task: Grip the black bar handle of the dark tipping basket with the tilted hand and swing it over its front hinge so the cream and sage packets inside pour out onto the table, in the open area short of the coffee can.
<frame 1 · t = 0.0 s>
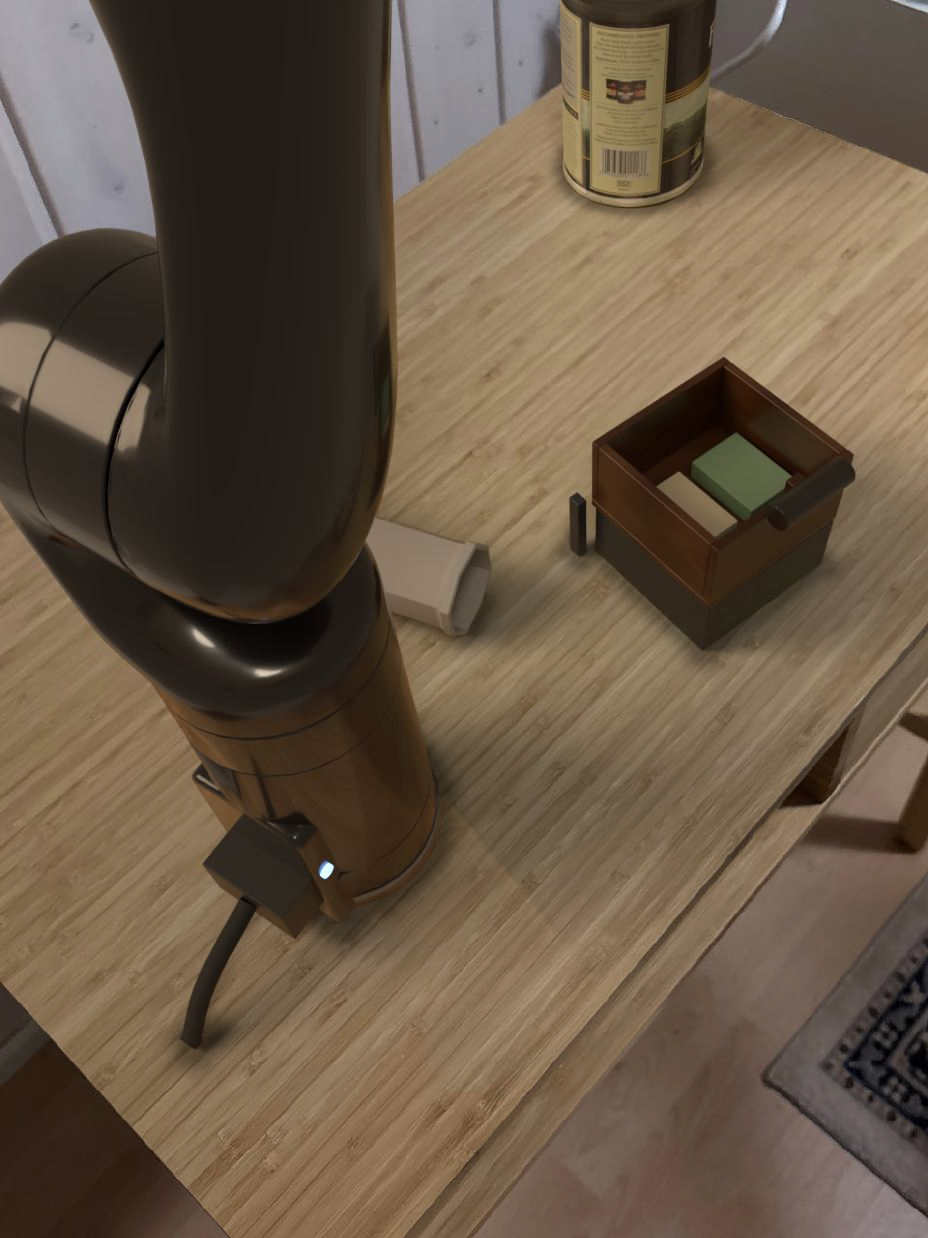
sage packet: (742, 478, 60), point 5 cm above the table, touching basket
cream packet: (684, 518, 59), point 5 cm above the table, touching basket
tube: (280, 555, 67), on the table
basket: (731, 476, 57), point 8 cm above the table, hinge at -0.1°, touching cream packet, sage packet
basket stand: (705, 555, 64), on the table
coffee can: (631, 165, 84), on the table
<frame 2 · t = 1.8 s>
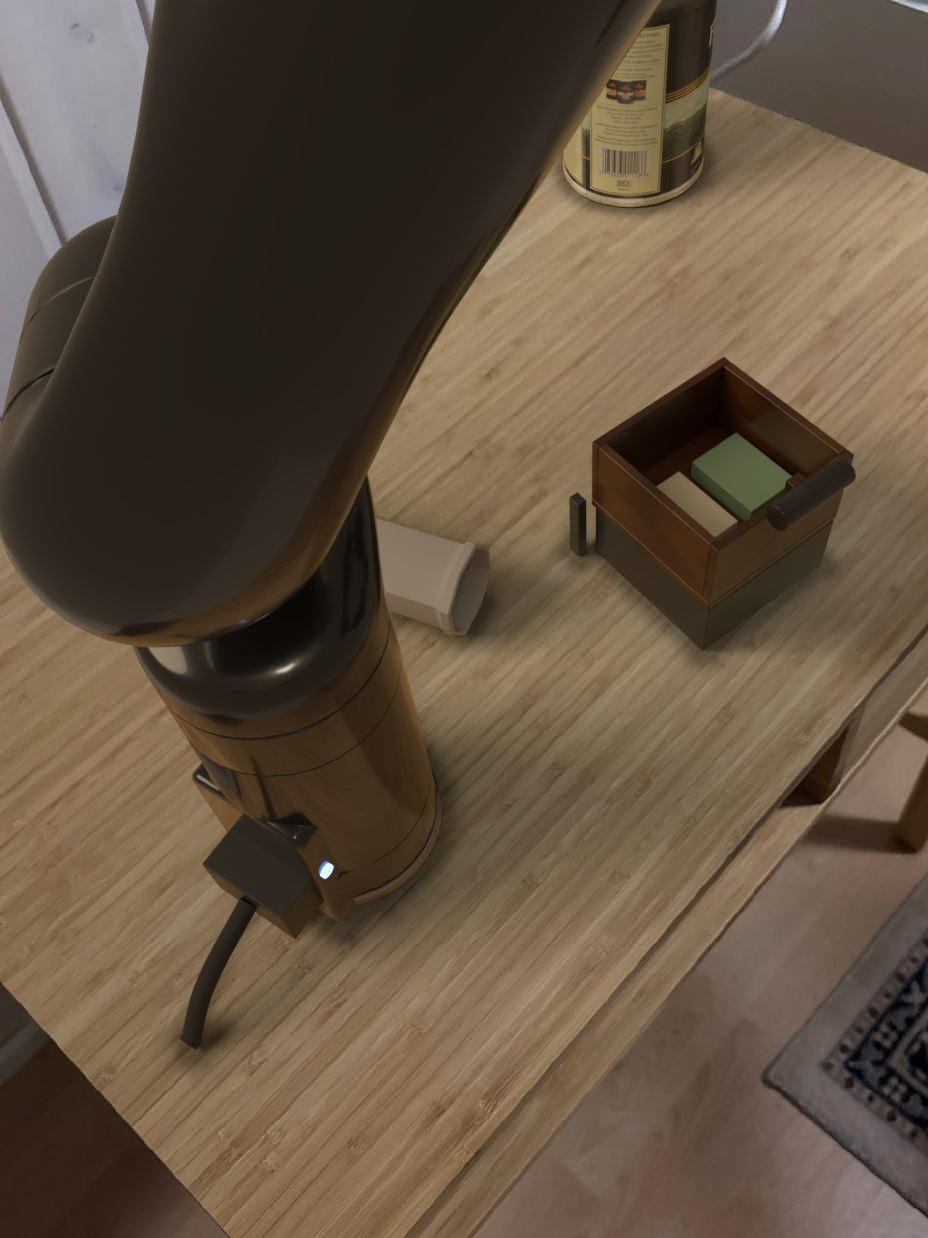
nothing on the table moved.
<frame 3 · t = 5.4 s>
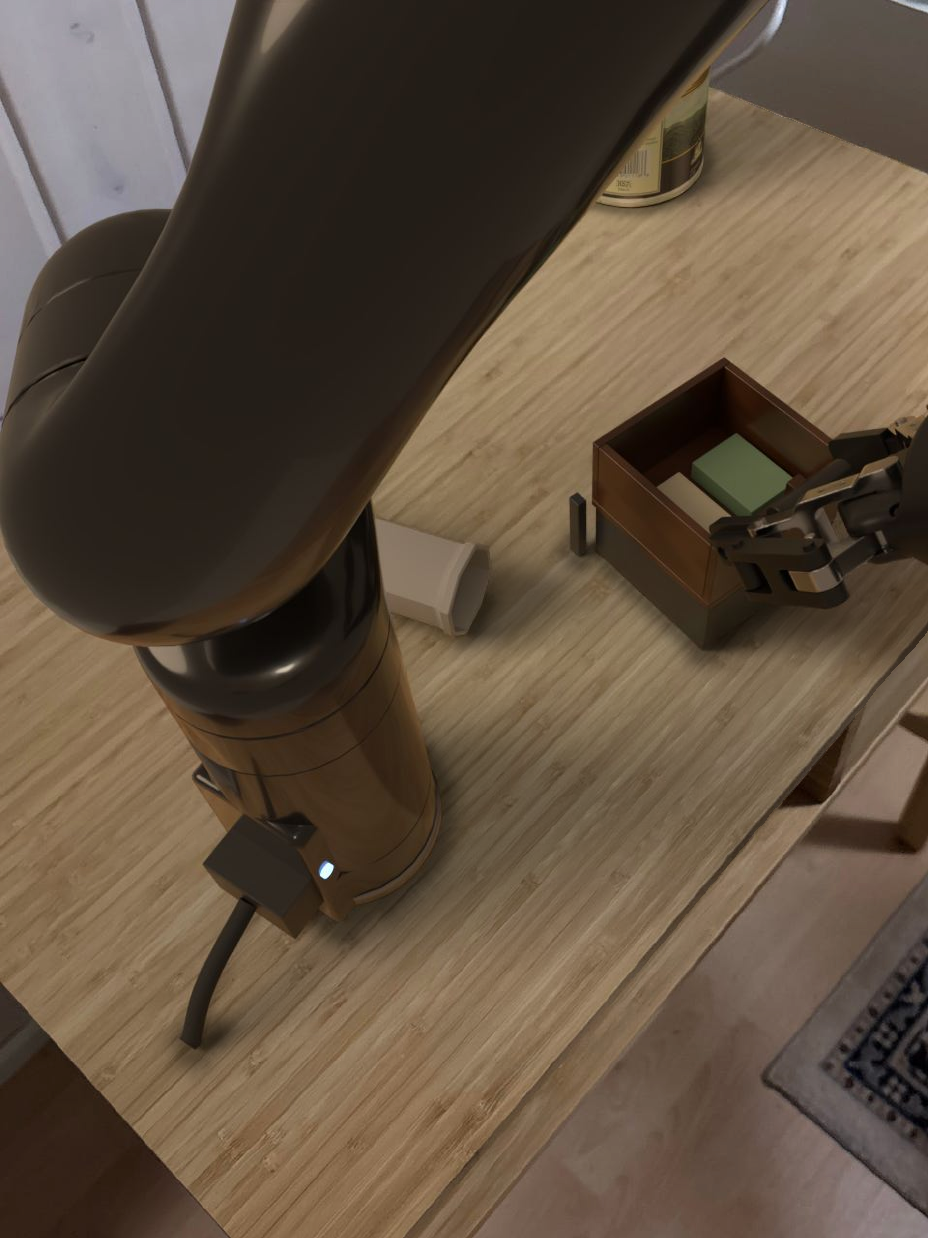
hand: (781, 498, 54), 9 cm above the table, tool tilted 45°, fingers closed on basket, 7 cm apart
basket: (731, 477, 57), point 8 cm above the table, hinge at -0.5°, touching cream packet, gripper, sage packet
everything else where it was.
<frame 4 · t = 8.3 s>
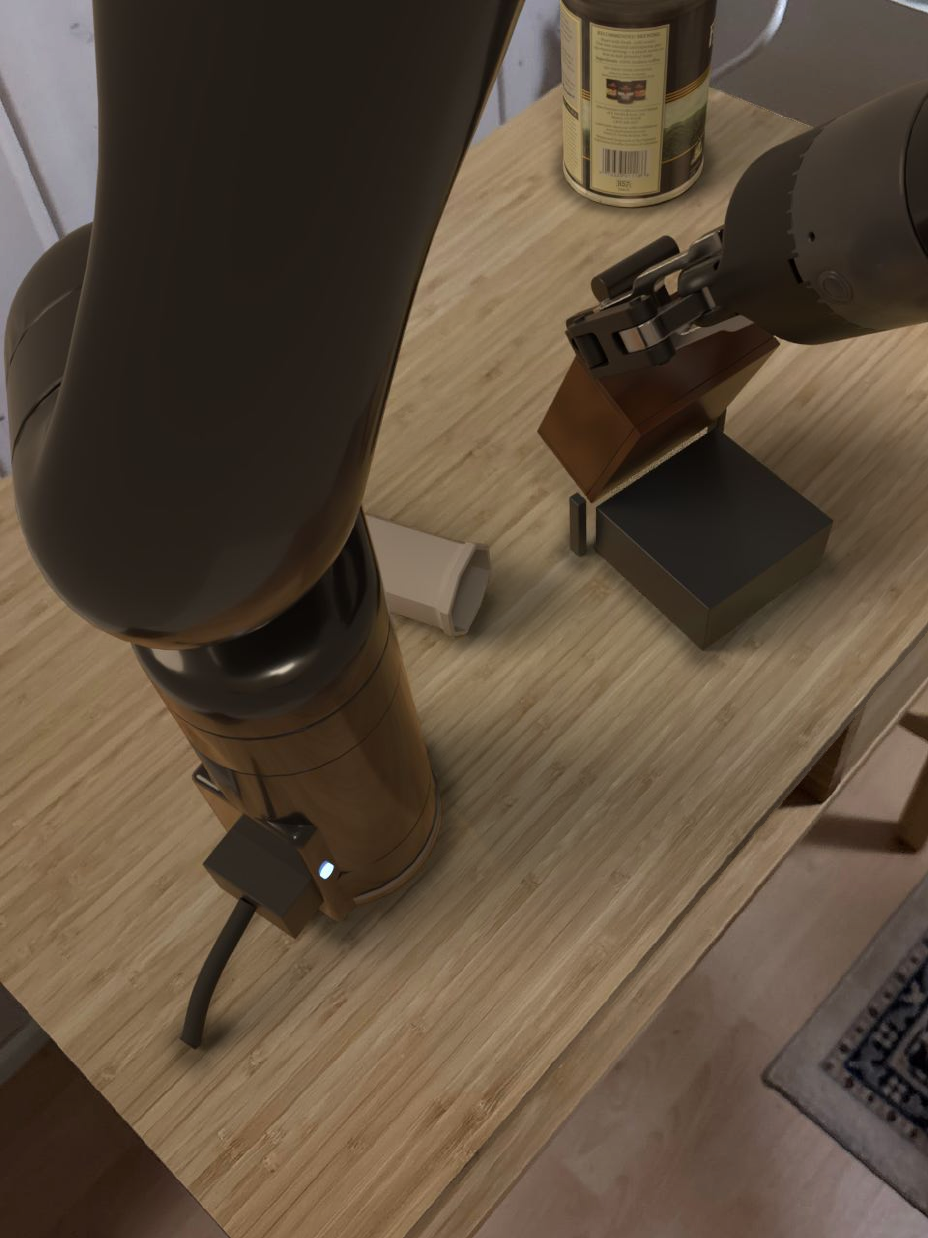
hand: (642, 299, 55), 15 cm above the table, tool tilted 45°, fingers closed on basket, 7 cm apart
sage packet: (686, 407, 61), point 7 cm above the table, tilted 67°, touching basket
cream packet: (627, 445, 60), point 7 cm above the table, tilted 67°, touching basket
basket: (643, 364, 58), point 10 cm above the table, hinge at 67.2°, touching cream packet, gripper, sage packet
everything else where it was.
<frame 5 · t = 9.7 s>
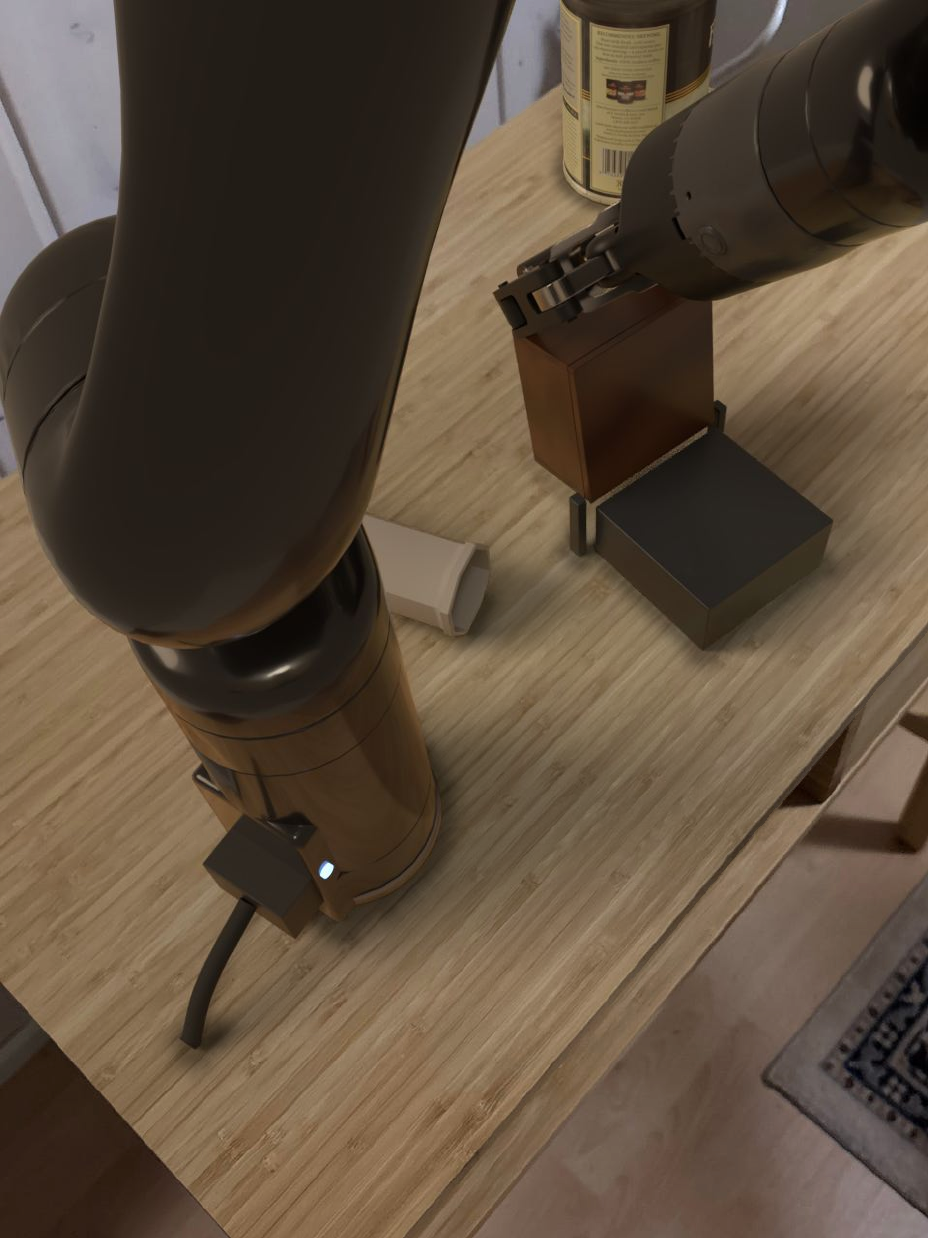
hand: (569, 272, 59), 13 cm above the table, tool tilted 45°, fingers open, 7 cm apart
sage packet: (666, 396, 62), point 7 cm above the table, tilted 99°, touching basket
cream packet: (608, 434, 61), point 7 cm above the table, tilted 99°, touching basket
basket: (602, 355, 61), point 9 cm above the table, hinge at 98.5°, touching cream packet, gripper, sage packet
everything else where it was.
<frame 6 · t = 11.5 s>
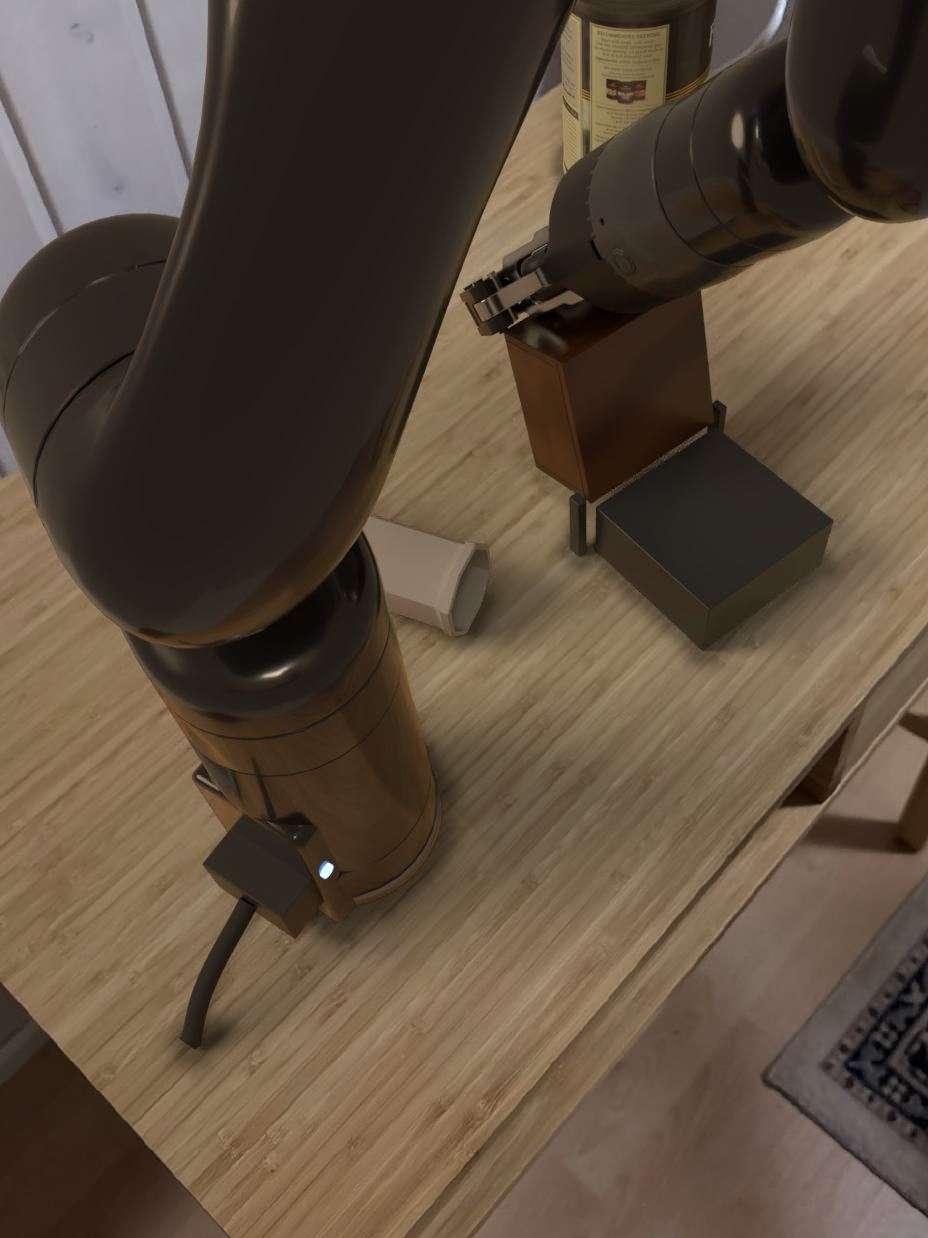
hand: (512, 287, 65), 8 cm above the table, tool tilted 45°, fingers closed on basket, 4 cm apart
sage packet: (662, 395, 62), point 6 cm above the table, tilted 104°, touching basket
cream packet: (604, 433, 61), point 6 cm above the table, tilted 104°, touching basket
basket: (597, 356, 62), point 8 cm above the table, hinge at 104.1°, touching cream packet, gripper, sage packet
everything else where it was.
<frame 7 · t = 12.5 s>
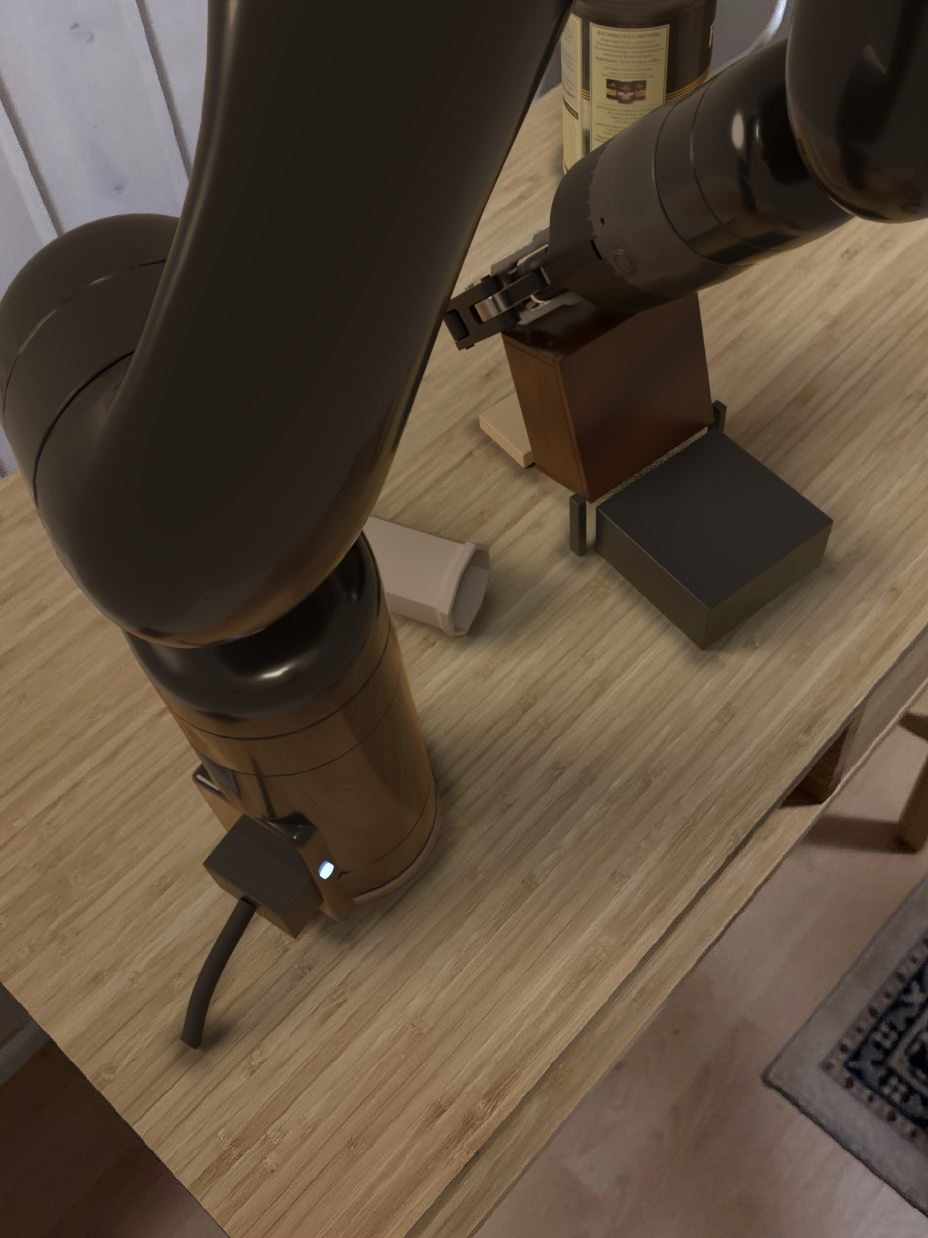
hand: (518, 284, 64), 9 cm above the table, tool tilted 45°, fingers open, 8 cm apart
sage packet: (573, 395, 71), point 1 cm above the table
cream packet: (521, 428, 70), point 1 cm above the table
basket: (595, 357, 62), point 8 cm above the table, hinge at 106.0°
everything else where it was.
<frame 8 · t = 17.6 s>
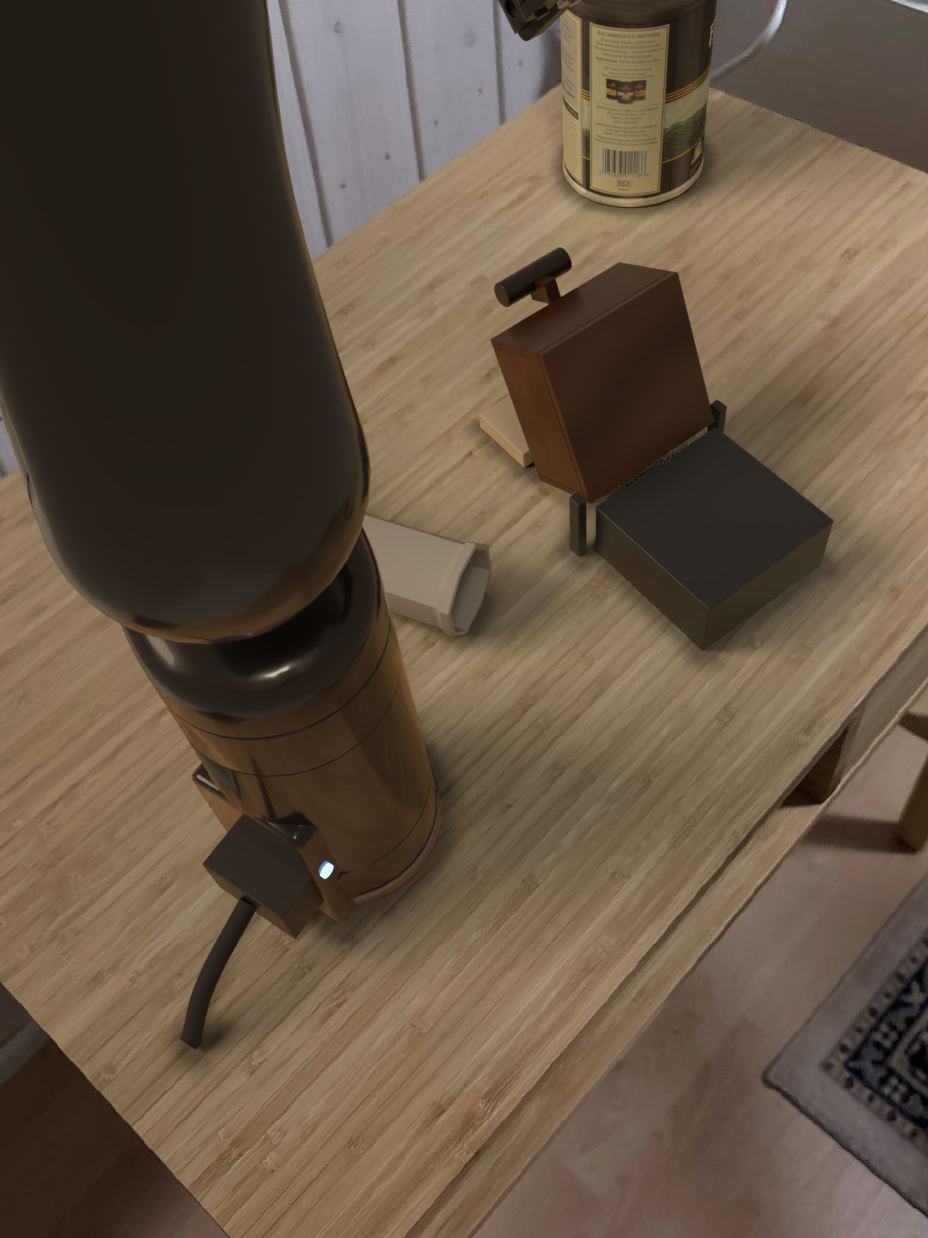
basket: (588, 363, 63), point 7 cm above the table, hinge at 114.7°
everything else where it was.
at the end: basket at +115° (first picture: +0°); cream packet inside the target area on the table beside the coffee can (4.1 cm from its centre), point 0.8 cm above the table; sage packet inside the target area on the table beside the coffee can (3.8 cm from its centre), point 0.8 cm above the table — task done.
